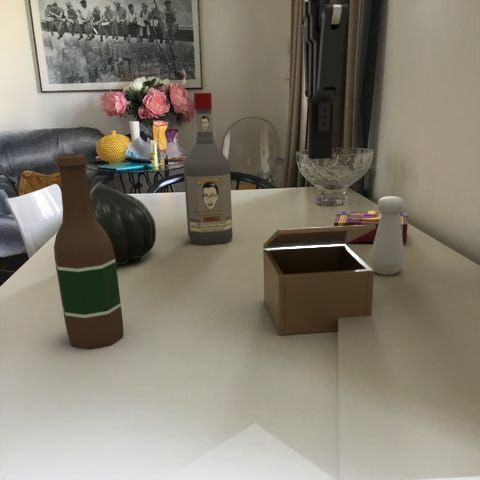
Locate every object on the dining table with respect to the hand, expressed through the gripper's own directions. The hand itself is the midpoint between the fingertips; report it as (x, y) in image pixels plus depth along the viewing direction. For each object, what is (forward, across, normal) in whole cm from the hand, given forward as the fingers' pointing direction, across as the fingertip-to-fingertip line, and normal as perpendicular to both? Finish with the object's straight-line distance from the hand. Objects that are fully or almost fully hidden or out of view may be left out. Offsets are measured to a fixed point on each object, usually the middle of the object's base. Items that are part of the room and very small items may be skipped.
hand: (319, 157), depth 72 cm
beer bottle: (+22, +1, -31) cm, 38 cm away
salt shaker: (+22, -19, +17) cm, 34 cm away
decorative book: (+22, -43, +21) cm, 53 cm away
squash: (+23, -37, -31) cm, 53 cm away
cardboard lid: (+11, -2, 0) cm, 11 cm away
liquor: (+22, -49, -12) cm, 55 cm away
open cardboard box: (+22, -2, 0) cm, 22 cm away
